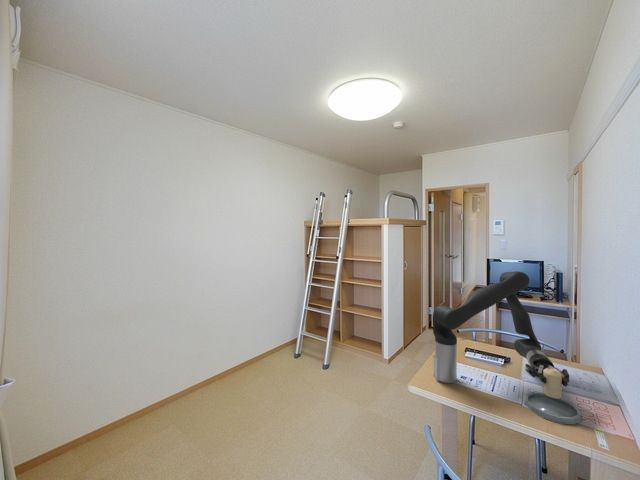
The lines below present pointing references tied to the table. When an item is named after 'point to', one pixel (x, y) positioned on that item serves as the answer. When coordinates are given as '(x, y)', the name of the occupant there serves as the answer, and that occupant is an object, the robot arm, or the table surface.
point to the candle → (552, 383)
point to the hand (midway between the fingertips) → (555, 382)
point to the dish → (553, 408)
